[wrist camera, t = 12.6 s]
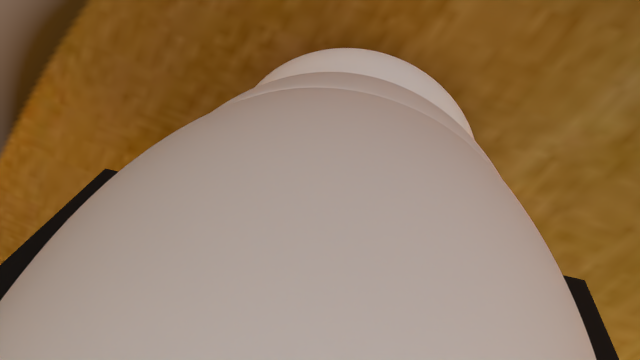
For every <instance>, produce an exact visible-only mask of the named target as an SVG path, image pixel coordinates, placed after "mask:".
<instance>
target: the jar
mask: <svg viewBox="0 0 640 360" xmlns="http://www.w3.org/2000/svg"><path fill="white" fill-rule="evenodd" d="M0 360H596V357H595V354H594V351H593V348H592V345H591V342H590V339H589V337H588V334H587V331H586V328H585V326H584V323H583V321H582V318H581V316H580V313H579V311H578V308H577V306H576V303H575V301H574V299H573V297H572V294H571V292H570V290H569V288H568V285H567V283H566V281H565V279H564V277H563V275H562V273H561V271H560V269H559V267H558V265H557V263H556V261H555V259H554V257H553V256H552V254H551V252H550V250H549V248H548V246H547V245H546V243H545V241H544V239H543V238H542V236H541V234H540V233H539V231H538V229H537V228H536V226H535V225H534V223H533V221H532V220H531V218H530V217H529V215H528V214H527V212H526V211H525V209H524V208H523V206H522V205H521V203H520V202H519V201H518V199H517V198H516V196H515V195H514V194H513V192H512V191H511V190H510V188H509V187H508V186H507V184H506V183H505V182H504V181H503V179H502V178H501V176H500V174H499V173H498V171H497V170H496V168H495V167H494V165H493V164H492V162H491V161H490V159H489V158H488V157H487V155H486V154H485V153H484V151H483V150H482V149H481V147H480V146H479V145H478V144H477V143H476V141H475V140H474V136H473V134H472V131H471V128H470V126H469V124H468V122H467V119H466V118H465V116H464V114H463V112H462V111H461V109H460V108H459V106H458V105H457V103H456V102H455V101H454V99H453V98H452V97H451V96H450V94H449V93H448V92H447V91H446V90H445V89H444V88H443V87H442V86H441V85H440V84H439V83H438V82H436V81H435V80H434V79H433V78H432V77H430V76H429V75H428V74H426V73H425V72H423V71H422V70H420V69H419V68H417V67H415V66H413V65H412V64H410V63H408V62H406V61H403V60H401V59H399V58H396V57H394V56H391V55H388V54H385V53H381V52H377V51H372V50H366V49H358V48H334V49H326V50H320V51H316V52H312V53H308V54H305V55H302V56H299V57H297V58H295V59H292V60H290V61H288V62H286V63H284V64H283V65H281V66H279V67H278V68H276V69H275V70H273V71H272V72H271V73H270V74H268V75H267V76H266V77H265V78H264V79H262V80H261V81H260V82H259V83H258V84H257V86H256V87H255V88H253V89H251V90H248V91H246V92H244V93H242V94H240V95H238V96H236V97H235V98H233V99H231V100H229V101H228V102H226V103H224V104H223V105H221V106H220V107H218V108H217V109H215V110H214V111H212V112H211V113H209V114H207V115H205V116H203V117H201V118H199V119H197V120H195V121H193V122H191V123H189V124H187V125H186V126H184V127H182V128H180V129H179V130H177V131H175V132H174V133H172V134H170V135H169V136H167V137H166V138H164V139H162V140H161V141H159V142H158V143H156V144H155V145H153V146H152V147H151V148H149V149H148V150H146V151H145V152H144V153H142V154H141V155H139V156H138V157H137V158H135V159H134V160H133V161H132V162H130V163H129V164H128V165H126V166H125V167H124V168H123V169H122V170H120V171H119V172H118V173H117V174H116V175H114V176H113V177H112V178H111V179H110V180H109V181H107V182H106V183H105V184H104V185H103V186H102V187H101V188H100V189H98V190H97V191H96V192H95V193H94V194H93V195H92V196H91V197H90V198H89V199H88V200H87V201H86V202H85V203H84V204H83V205H82V206H81V207H80V208H79V209H78V210H77V211H76V212H75V213H74V214H73V215H72V216H71V217H70V218H69V219H68V220H67V221H66V222H65V223H64V224H63V225H62V227H61V228H60V229H59V230H58V231H57V232H56V233H55V234H54V235H53V236H52V238H51V239H50V240H49V241H48V242H47V243H46V244H45V246H44V247H43V248H42V249H41V250H40V252H39V253H38V254H37V255H36V256H35V257H34V259H33V260H32V261H31V262H30V264H29V265H28V266H27V267H26V268H25V270H24V271H23V272H22V273H21V275H20V276H19V277H18V279H17V280H16V281H15V282H14V284H13V285H12V286H11V288H10V289H9V290H8V291H7V293H6V294H5V295H4V297H3V298H2V299H1V301H0Z"/></svg>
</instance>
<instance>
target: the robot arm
mask: <svg viewBox="0 0 640 360" xmlns="http://www.w3.org/2000/svg"><path fill="white" fill-rule="evenodd" d="M117 173H118V171H114V170H110V169H105V170H103V171H102V172H101V173H100V174H99V175H98V176H97V177H96V178H95V179H94V180H93V181H91V182H90V183H89V184H88V185H87V186H86V187H85V188H84V189H83V190H82V191H81V192H79V193H78V194H77V195H76V196H75V197H74V198H73V199H72V200H71V201H70V202H69V203H67V204H66V205H65V206H64V207H63V208H62V209H61V210H60V211H59V212H58V213H57V214H55V215H54V216H53V217H52V218H51V219H50V220H49V221H48V222H47V223H46V224H45V225H44V226H42V227H41V228H40V229H39V230H38V231H37V232H36V233H35V234H34V235H33V236H32V237H30V238H29V239H28V240H27V241H26V242H25V243H24V244H23V245H22V246H21V247H20V248H18V249H17V250H16V251H15V252H14V253H13V254H12V255H11V256H10V257H9V258H8V259H6V260H5V261H4V262H3V263H2V264H1V265H0V301H1V299H2V298H3V297H4V295H5V294H6V293H7V291H8V290H9V289H10V288H11V286H12V285H13V284H14V282H15V281H16V280H17V279H18V277H19V276H20V275H21V273H22V272H23V271H24V270H25V268H26V267H27V266H28V265H29V264H30V262H31V261H32V260H33V259H34V257H35V256H36V255H37V254H38V253H39V252H40V250H41V249H42V248H43V247H44V246H45V244H46V243H47V242H48V241H49V240H50V239H51V238H52V236H53V235H54V234H55V233H56V232H57V231H58V230H59V229H60V228H61V227H62V225H63V224H64V223H65V222H66V221H67V220H68V219H69V218H70V217H71V216H72V215H73V214H74V213H75V212H76V211H77V210H78V209H79V208H80V207H81V206H82V205H83V204H84V203H85V202H86V201H87V200H88V199H89V198H90V197H91V196H92V195H93V194H94V193H95V192H96V191H97V190H98V189H100V188H101V187H102V186H103V185H104V184H105V183H106V182H107V181H109V180H110V179H111V178H112V177H113V176H114V175H116V174H117ZM563 277H564V279H565V281H566V283H567V285H568V288H569V290H570V292H571V294H572V297H573V299H574V301H575V303H576V306H577V308H578V311H579V313H580V316H581V318H582V321H583V323H584V326H585V328H586V331H587V334H588V337H589V339H590V342H591V345H592V348H593V351H594V354H595V357H596V360H619V358H618V356H617V354H616V351H615V349H614V347H613V344H612V342H611V340H610V337H609V335H608V333H607V330H606V328H605V326H604V324H603V321H602V319H601V317H600V314H599V312H598V310H597V307H596V305H595V303H594V300H593V298H592V296H591V294H590V291H589V289H588V287H587V284H586V282H585V280H581V279H577V278H572V277H568V276H564V275H563Z"/></svg>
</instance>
